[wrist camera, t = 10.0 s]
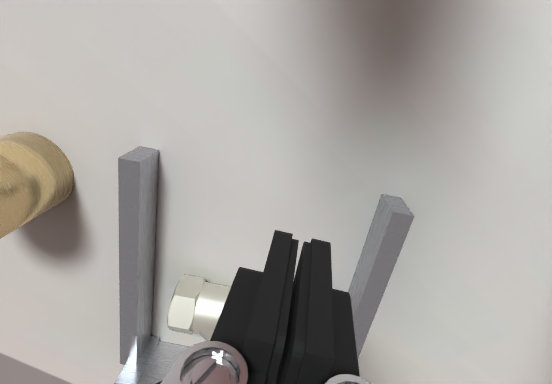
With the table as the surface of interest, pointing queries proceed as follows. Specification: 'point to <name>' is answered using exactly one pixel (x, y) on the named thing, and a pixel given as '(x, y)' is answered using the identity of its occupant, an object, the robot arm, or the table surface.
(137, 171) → the pipe jig
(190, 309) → the pipe fitting
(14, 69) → the table surface
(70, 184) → the cylinder
